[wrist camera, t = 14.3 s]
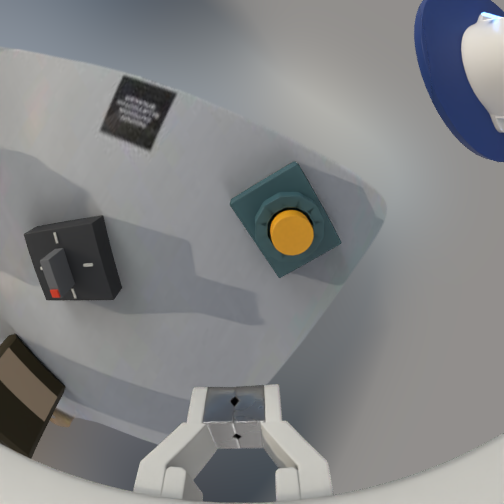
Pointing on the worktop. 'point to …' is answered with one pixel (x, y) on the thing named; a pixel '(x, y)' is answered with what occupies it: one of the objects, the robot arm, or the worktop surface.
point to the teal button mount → (275, 201)
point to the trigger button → (291, 232)
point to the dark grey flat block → (78, 257)
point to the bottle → (25, 397)
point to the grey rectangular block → (57, 273)
